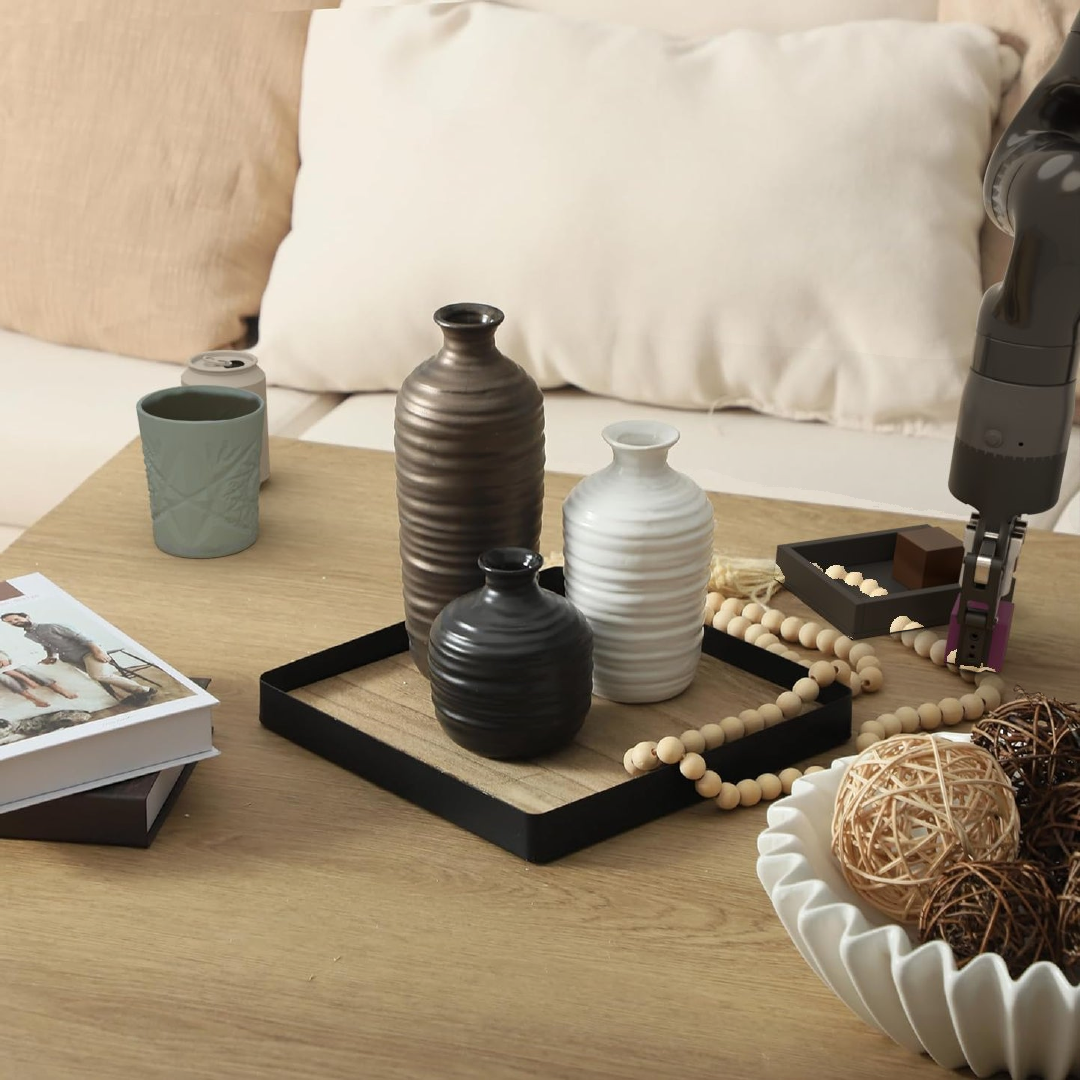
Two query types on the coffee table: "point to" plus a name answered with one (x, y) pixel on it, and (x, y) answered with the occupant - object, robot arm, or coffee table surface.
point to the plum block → (998, 636)
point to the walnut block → (927, 558)
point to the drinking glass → (202, 467)
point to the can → (232, 383)
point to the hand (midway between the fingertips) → (975, 651)
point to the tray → (875, 562)
